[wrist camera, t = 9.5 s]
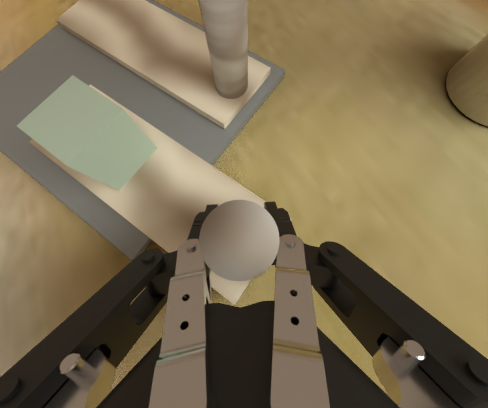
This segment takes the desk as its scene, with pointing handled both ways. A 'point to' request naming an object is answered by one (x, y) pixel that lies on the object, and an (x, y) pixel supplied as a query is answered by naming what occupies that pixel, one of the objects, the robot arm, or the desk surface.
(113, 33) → the empty strip
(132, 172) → the sage block
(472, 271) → the desk surface
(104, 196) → the block strip
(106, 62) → the lane board
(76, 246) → the desk surface
